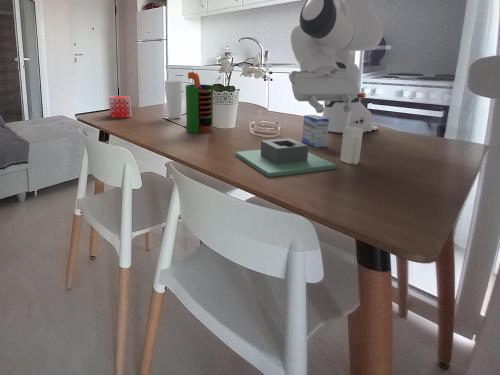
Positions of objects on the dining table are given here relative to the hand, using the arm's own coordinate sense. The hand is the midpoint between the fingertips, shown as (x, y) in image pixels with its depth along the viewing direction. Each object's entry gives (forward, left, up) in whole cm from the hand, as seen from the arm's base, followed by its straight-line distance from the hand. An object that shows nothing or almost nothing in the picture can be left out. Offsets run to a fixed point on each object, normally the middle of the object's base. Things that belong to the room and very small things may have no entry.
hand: (335, 111), depth 102 cm
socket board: (+17, +2, -12) cm, 21 cm away
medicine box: (-2, -12, -12) cm, 18 cm away
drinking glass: (+28, -71, -12) cm, 77 cm away
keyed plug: (0, +8, -12) cm, 14 cm away
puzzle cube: (+48, -83, -13) cm, 97 cm away
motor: (+26, -43, -12) cm, 52 cm away
